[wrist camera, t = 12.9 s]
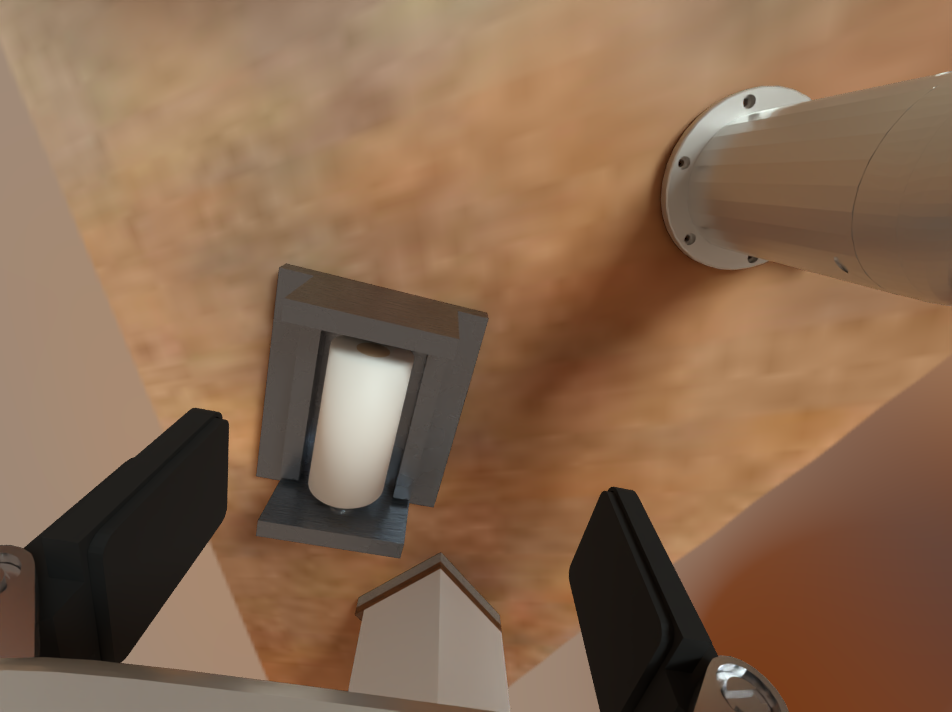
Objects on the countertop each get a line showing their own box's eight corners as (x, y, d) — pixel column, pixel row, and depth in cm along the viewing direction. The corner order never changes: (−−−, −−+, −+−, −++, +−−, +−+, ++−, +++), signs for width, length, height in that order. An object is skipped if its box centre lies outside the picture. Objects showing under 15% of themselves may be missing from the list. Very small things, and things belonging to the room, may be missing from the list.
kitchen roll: (421, 347, 35) (403, 376, 30) (391, 471, 39) (370, 517, 34) (348, 326, 35) (316, 351, 30) (326, 453, 39) (294, 496, 34)
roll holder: (487, 313, 36) (496, 348, 29) (434, 496, 43) (431, 563, 36) (286, 263, 34) (241, 288, 27) (262, 465, 41) (221, 530, 33)
